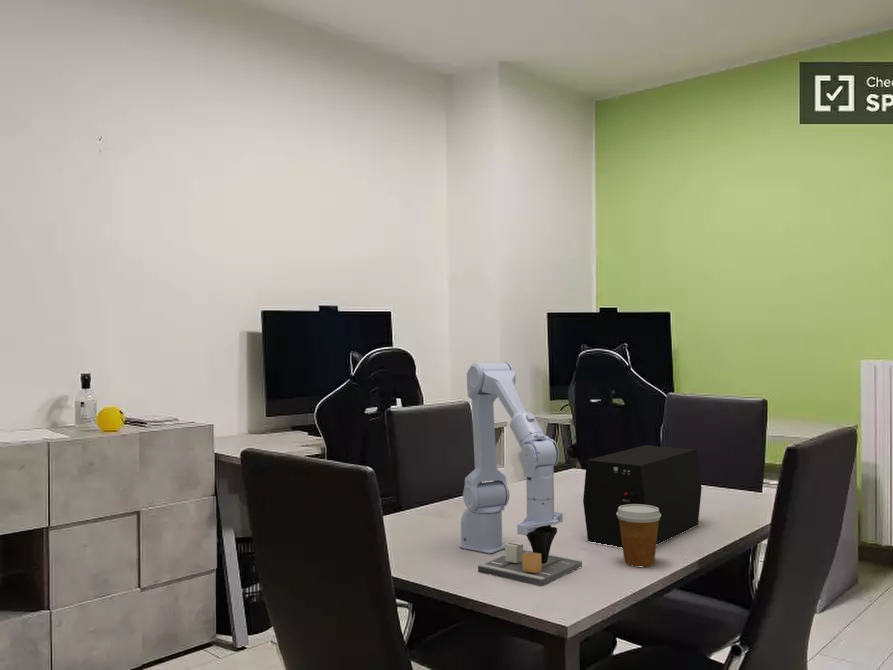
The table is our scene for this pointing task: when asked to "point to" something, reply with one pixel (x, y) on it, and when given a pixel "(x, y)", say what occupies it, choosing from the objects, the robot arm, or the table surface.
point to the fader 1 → (514, 552)
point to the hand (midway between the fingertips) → (541, 562)
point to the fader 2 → (532, 562)
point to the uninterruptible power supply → (642, 490)
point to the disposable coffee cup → (639, 533)
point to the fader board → (514, 571)
